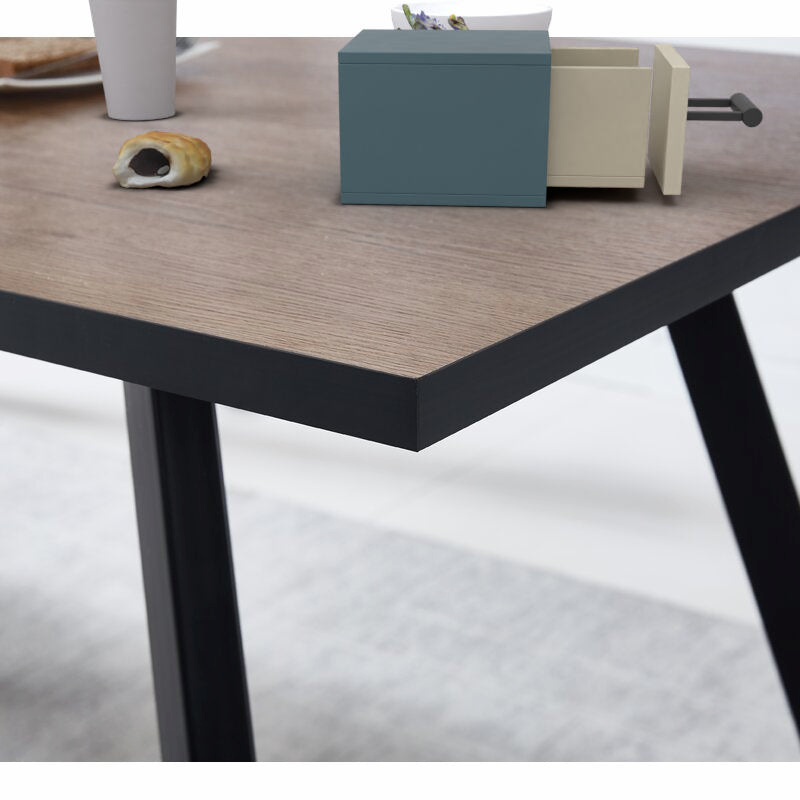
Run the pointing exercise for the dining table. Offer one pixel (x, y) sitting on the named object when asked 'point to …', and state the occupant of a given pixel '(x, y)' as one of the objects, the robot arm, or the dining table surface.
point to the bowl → (479, 14)
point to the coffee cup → (137, 56)
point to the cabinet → (445, 117)
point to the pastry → (162, 160)
